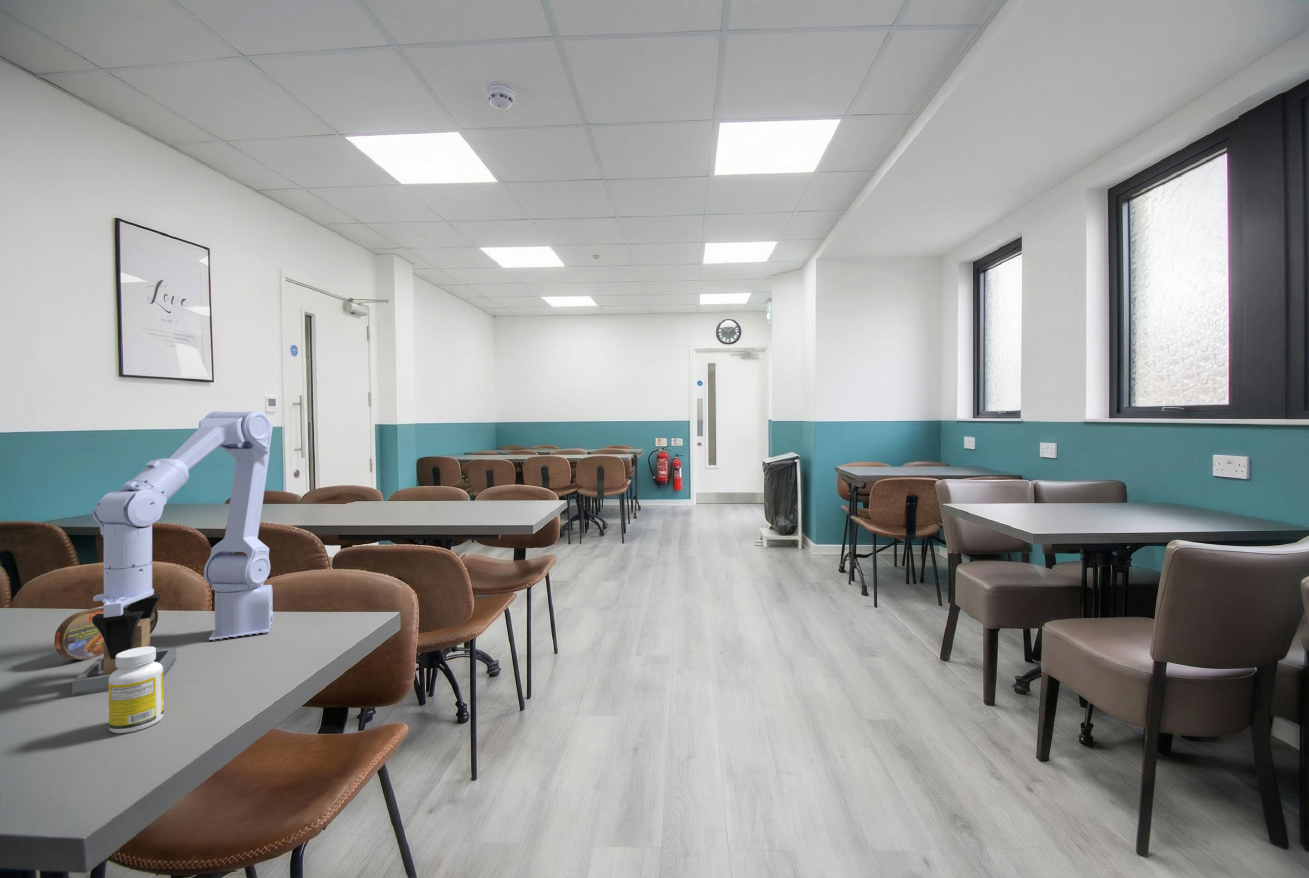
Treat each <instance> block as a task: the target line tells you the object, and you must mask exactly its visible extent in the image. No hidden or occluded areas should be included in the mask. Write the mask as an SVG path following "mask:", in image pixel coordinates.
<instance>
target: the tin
mask: <svg viewBox="0 0 1309 878" xmlns="http://www.w3.org/2000/svg"><path fill="white" fill-rule="evenodd" d="M103 613H104V605H102V606H98V607H93V608H89V609H86V610H83V611H78V612H76V613H73V614H71V615H70V616H68V617H67V618H66V619H65V620H64V621H62V622H61V624H60V625H59V626H58V627H57V629H56V632H55V634H54V647H55V649H56V652H57V653H58V654H59V655H61V657H64V658H66V659H70V660H80V661H81V660H82V661H83V660H84V661H85V660H91V659H95V658H97V656H98V657H101V656H102V655H101V654H104V638H103V636H102V634H101V633H100V631H99V630H98V628H97V627H96V626H95V625H94V624H93V622H92V617H93V616H95V615H96V614H103ZM158 619H159V612H158V608H157V607H156V606H155V608H154V611H153V613H152V616H151V619H150V635H152V633H153V632H154V630H155V629H156V627H157V623H158ZM100 655H101V656H100ZM94 657H95V658H94Z"/></svg>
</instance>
